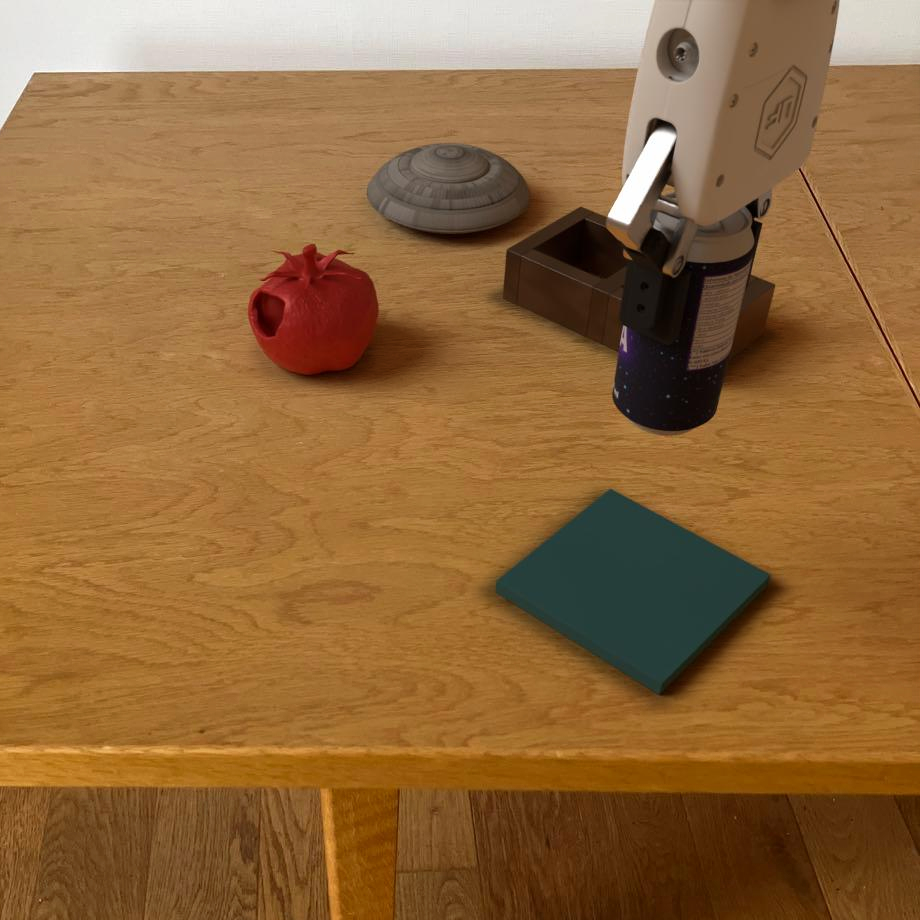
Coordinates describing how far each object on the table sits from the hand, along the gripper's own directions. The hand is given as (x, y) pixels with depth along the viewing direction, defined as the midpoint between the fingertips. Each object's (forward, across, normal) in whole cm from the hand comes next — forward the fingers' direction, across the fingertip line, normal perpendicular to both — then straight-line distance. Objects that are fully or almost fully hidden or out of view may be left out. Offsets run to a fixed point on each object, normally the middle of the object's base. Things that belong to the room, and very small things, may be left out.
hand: (683, 304), depth 61 cm
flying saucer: (+20, +29, +40) cm, 54 cm away
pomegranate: (+20, +4, +32) cm, 38 cm away
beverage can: (+7, 0, 0) cm, 7 cm away
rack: (+20, +25, +17) cm, 36 cm away
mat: (+20, -1, -1) cm, 20 cm away
